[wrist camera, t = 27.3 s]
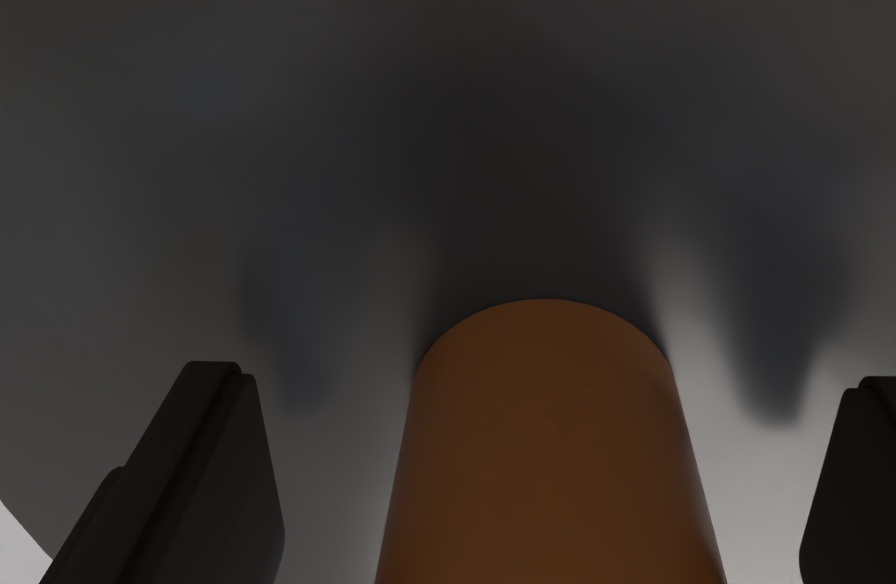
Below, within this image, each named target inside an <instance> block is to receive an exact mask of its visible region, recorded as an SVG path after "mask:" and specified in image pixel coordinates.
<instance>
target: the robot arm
mask: <svg viewBox="0 0 896 584" xmlns="http://www.w3.org/2000/svg"><path fill="white" fill-rule="evenodd" d="M284 544H285V528H284V522H283V517H282V511H281V506H280V501H279V496H278V491H277V486H276V481H275V476H274V470H273V465H272V460H271V455H270V450H269V445H268V440H267V434H266V429H265V424H264V419H263V414H262V409H261V404H260V399H259V393H258V388H257V383H256V380H255V378H254V376H253V375H252V374H242V371H241V368H240V366H239V365H238V363H236V362H227V361H190V362H187V364H186V365H185V366H184V367H183V369H182V370H181V372H180V374H179V375H178V377H177V379H176V380H175V382H174V384H173V385H172V387H171V389H170V390H169V392H168V394H167V395H166V397H165V399H164V400H163V402H162V404H161V405H160V407H159V409H158V410H157V412H156V414H155V415H154V417H153V419H152V420H151V422H150V424H149V425H148V427H147V429H146V431H145V432H144V434H143V436H142V437H141V439H140V441H139V442H138V444H137V446H136V447H135V449H134V451H133V452H132V454H131V456H130V457H129V459H128V461H127V462H126V464H125V466H118V467H117V468H115V469H113V470H112V471H110V472H109V473H108V475H107V476H106V477H105V478H104V480H103V481H102V482H101V484H100V486H99V487H98V489H97V491H96V492H95V494H94V495H93V497H92V499H91V500H90V502H89V503H88V505H87V507H86V508H85V510H84V512H83V513H82V515H81V516H80V518H79V520H78V521H77V523H76V524H75V526H74V528H73V529H72V531H71V533H70V534H69V536H68V537H67V539H66V541H65V542H64V544H63V546H62V547H61V549H60V550H59V552H58V554H57V555H56V557H55V558H54V560H53V562H52V563H51V565H50V567H49V568H48V570H47V571H46V573H45V575H44V576H43V578H42V579H41V581H40V583H39V584H274V581H275V578H276V575H277V572H278V569H279V565H280V562H281V559H282V555H283V551H284ZM799 568H800V574H801V578H802V582H803V584H896V376H866V377H864V378H863V379H862V380H861V381H860V383H859V385H858V388H848V389H846V390H845V391H844V392H843V395H842V397H841V400H840V404H839V408H838V411H837V415H836V418H835V422H834V426H833V429H832V433H831V437H830V440H829V444H828V447H827V451H826V455H825V458H824V462H823V465H822V469H821V473H820V476H819V480H818V483H817V487H816V491H815V494H814V498H813V501H812V505H811V509H810V512H809V516H808V519H807V523H806V527H805V530H804V534H803V538H802V541H801V545H800V550H799Z"/></svg>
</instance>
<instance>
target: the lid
mask: <svg viewBox="0 0 896 584" xmlns="http://www.w3.org/2000/svg"><path fill="white" fill-rule="evenodd" d="M190 361H227V362H236V363H238V365H239V366H240V368H241V371H242V374H252V375H253V376H254V378H255V380H256V383H257V388H258V393H259V399H260V404H261V409H262V414H263V419H264V424H265V429H266V434H267V440H268V445H269V450H270V455H271V460H272V465H273V470H274V476H275V481H276V486H277V491H278V496H279V501H280V506H281V511H282V517H283V522H284V528H285V544H284V551H283V555H282V559H281V562H280V565H279V569H278V572H277V575H276V578H275V581H274V584H803V582H802V578H801V574H800V568H799V550H800V545H801V541H802V538H803V534H804V530H805V527H806V523H807V519H808V516H809V512H810V509H811V505H812V501H813V498H814V494H815V491H816V487H817V483H818V480H819V476H820V473H821V469H822V465H823V462H824V458H825V455H826V451H827V447H828V444H829V440H830V437H831V433H832V429H833V426H834V422H835V418H836V415H837V411H838V408H839V404H840V400H841V397H842V395H843V392H844V391H845V390H846V389H848V388H858V385H859V383H860V381H861V380H862V379H863V378H864V377H866V376H896V0H0V500H1V502H2V503H3V505H4V506H5V507H6V508H7V509H8V510H9V512H10V513H11V514H12V515H13V516H14V517H15V518H16V520H17V521H18V522H19V523H20V524H21V525H22V526H23V528H24V529H25V530H26V531H27V532H28V533H29V534H30V536H31V537H32V538H33V539H34V540H35V541H36V543H37V544H38V545H39V546H40V547H41V548H42V549H43V551H44V552H45V553H46V554H47V555H48V556H49V557H51V558H52V559H53V560H54V558H55V557H56V555H57V554H58V552H59V550H60V549H61V547H62V546H63V544H64V542H65V541H66V539H67V537H68V536H69V534H70V533H71V531H72V529H73V528H74V526H75V524H76V523H77V521H78V520H79V518H80V516H81V515H82V513H83V512H84V510H85V508H86V507H87V505H88V503H89V502H90V500H91V499H92V497H93V495H94V494H95V492H96V491H97V489H98V487H99V486H100V484H101V482H102V481H103V480H104V478H105V477H106V476H107V475H108V473H109V472H110V471H112V470H113V469H115V468H117V467H118V466H125V464H126V462H127V461H128V459H129V457H130V456H131V454H132V452H133V451H134V449H135V447H136V446H137V444H138V442H139V441H140V439H141V437H142V436H143V434H144V432H145V431H146V429H147V427H148V425H149V424H150V422H151V420H152V419H153V417H154V415H155V414H156V412H157V410H158V409H159V407H160V405H161V404H162V402H163V400H164V399H165V397H166V395H167V394H168V392H169V390H170V389H171V387H172V385H173V384H174V382H175V380H176V379H177V377H178V375H179V374H180V372H181V370H182V369H183V367H184V366H185V365H186V364H187V362H190Z"/></svg>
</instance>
